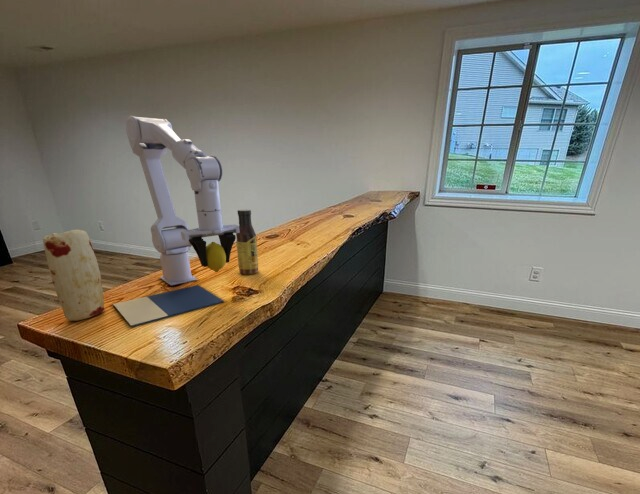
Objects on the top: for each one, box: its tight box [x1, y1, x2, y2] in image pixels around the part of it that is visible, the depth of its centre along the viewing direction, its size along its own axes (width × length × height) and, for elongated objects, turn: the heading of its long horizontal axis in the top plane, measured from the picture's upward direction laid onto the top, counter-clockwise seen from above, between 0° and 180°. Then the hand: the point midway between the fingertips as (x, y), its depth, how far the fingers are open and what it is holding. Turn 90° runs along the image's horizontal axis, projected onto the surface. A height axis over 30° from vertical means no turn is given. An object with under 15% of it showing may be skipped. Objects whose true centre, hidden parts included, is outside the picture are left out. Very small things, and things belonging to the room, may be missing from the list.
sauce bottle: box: [235, 208, 259, 276], centre depth 109 cm, size 6×6×20 cm
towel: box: [112, 284, 225, 328], centre depth 88 cm, size 16×22×1 cm
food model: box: [42, 229, 105, 322], centre depth 78 cm, size 10×7×20 cm
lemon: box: [206, 241, 227, 273], centre depth 89 cm, size 6×6×8 cm
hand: (215, 263), depth 90 cm, fingers closed on lemon, 5 cm apart
